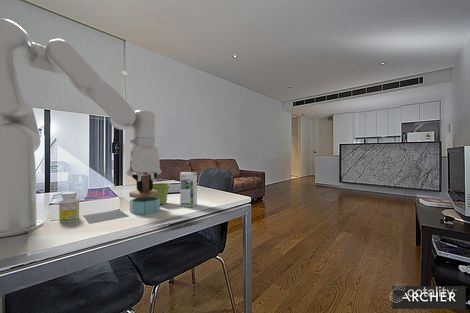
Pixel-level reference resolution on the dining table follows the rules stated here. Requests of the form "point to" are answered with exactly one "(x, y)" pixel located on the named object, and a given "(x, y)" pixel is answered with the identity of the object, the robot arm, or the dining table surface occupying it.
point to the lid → (144, 189)
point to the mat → (105, 216)
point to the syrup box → (188, 189)
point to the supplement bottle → (69, 207)
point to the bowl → (144, 205)
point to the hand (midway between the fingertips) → (144, 190)
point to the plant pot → (161, 191)
